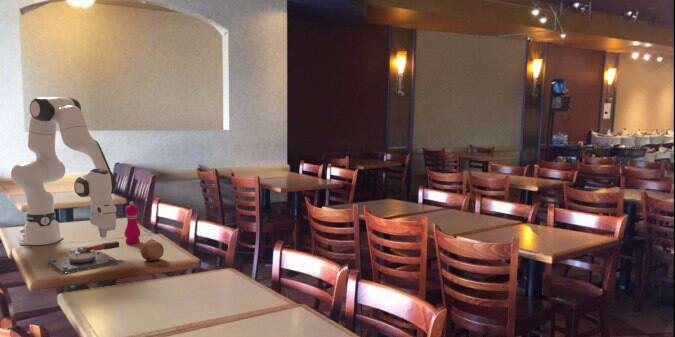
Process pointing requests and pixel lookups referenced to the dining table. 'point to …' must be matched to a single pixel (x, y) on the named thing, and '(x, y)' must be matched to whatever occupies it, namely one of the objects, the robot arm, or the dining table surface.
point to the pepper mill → (132, 225)
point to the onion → (152, 250)
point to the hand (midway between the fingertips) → (103, 237)
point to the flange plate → (67, 266)
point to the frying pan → (89, 252)
